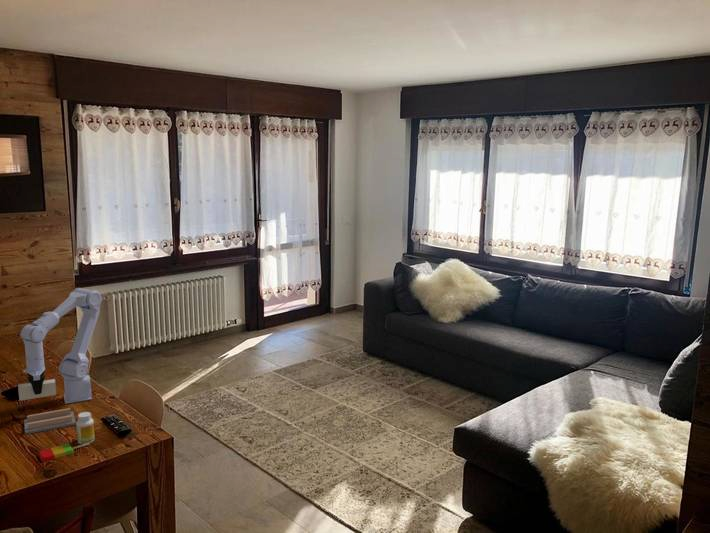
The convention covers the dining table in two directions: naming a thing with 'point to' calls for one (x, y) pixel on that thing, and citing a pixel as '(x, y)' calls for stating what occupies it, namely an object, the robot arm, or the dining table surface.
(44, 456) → the popsicle
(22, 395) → the beige rectangular block
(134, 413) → the dining table surface
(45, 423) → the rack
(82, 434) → the supplement bottle
